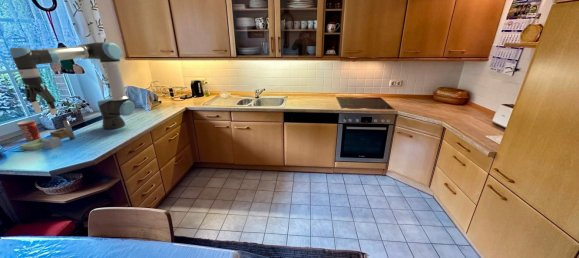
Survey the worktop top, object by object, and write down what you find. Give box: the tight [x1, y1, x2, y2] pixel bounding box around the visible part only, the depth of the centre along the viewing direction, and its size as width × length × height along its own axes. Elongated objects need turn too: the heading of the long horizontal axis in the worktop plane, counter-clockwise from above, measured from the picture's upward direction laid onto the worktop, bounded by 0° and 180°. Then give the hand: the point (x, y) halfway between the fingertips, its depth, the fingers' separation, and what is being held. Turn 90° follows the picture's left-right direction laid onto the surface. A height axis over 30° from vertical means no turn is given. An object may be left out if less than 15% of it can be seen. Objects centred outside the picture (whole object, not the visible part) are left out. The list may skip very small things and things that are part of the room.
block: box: [42, 136, 63, 150], centre depth 160 cm, size 6×6×6 cm
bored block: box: [49, 128, 69, 141], centre depth 176 cm, size 8×8×5 cm
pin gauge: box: [62, 119, 76, 141], centre depth 170 cm, size 3×3×14 cm
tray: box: [19, 137, 46, 152], centre depth 162 cm, size 12×12×3 cm
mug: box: [16, 119, 42, 142], centre depth 172 cm, size 13×9×14 cm
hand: (46, 113), depth 140 cm, fingers open, 13 cm apart
